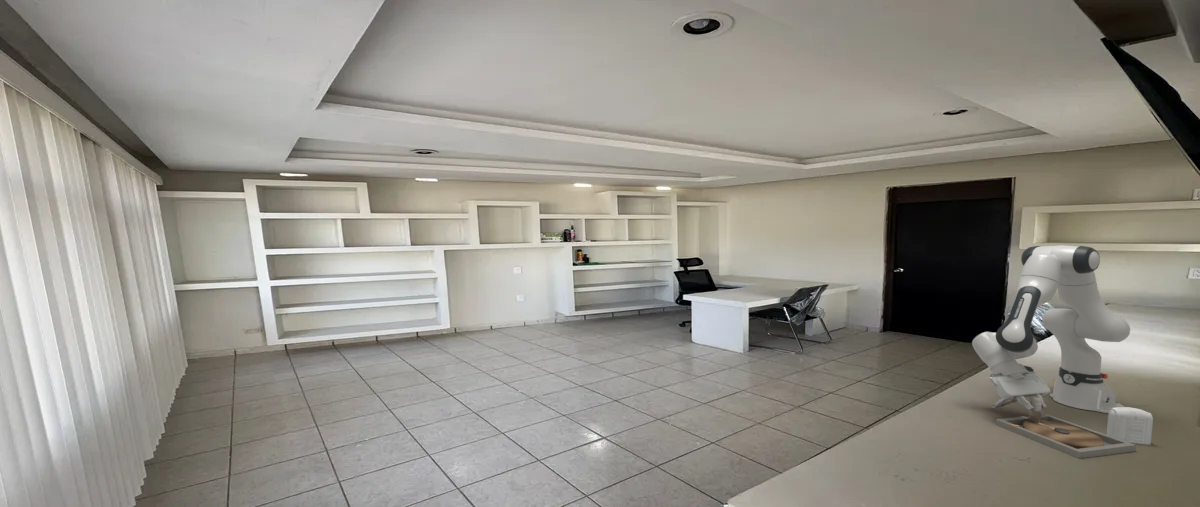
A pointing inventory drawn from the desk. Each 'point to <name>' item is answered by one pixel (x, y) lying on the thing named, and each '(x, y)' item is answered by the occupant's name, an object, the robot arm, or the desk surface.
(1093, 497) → the desk surface
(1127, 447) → the dial base
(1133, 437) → the photo printer
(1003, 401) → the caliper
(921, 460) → the desk surface
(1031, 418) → the dial
